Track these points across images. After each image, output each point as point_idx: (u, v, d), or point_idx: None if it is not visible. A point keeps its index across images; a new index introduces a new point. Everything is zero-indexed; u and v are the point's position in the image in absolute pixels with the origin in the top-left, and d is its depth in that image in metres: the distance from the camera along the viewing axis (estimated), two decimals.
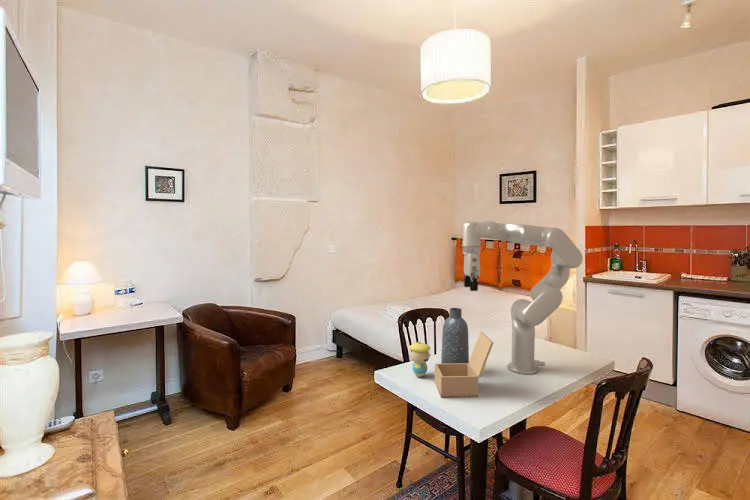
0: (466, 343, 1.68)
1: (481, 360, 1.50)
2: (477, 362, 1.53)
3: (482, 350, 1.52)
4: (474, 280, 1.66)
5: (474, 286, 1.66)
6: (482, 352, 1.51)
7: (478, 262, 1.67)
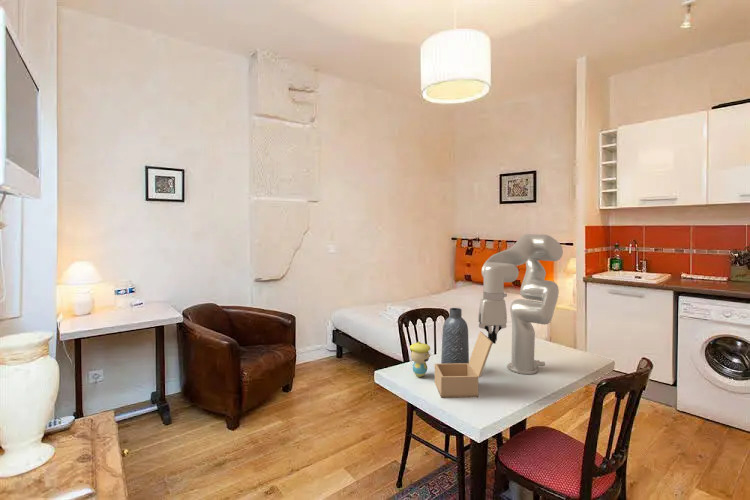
0: (466, 343, 1.68)
1: (481, 360, 1.50)
2: (477, 362, 1.53)
3: (482, 350, 1.52)
4: None
5: None
6: (482, 352, 1.51)
7: None
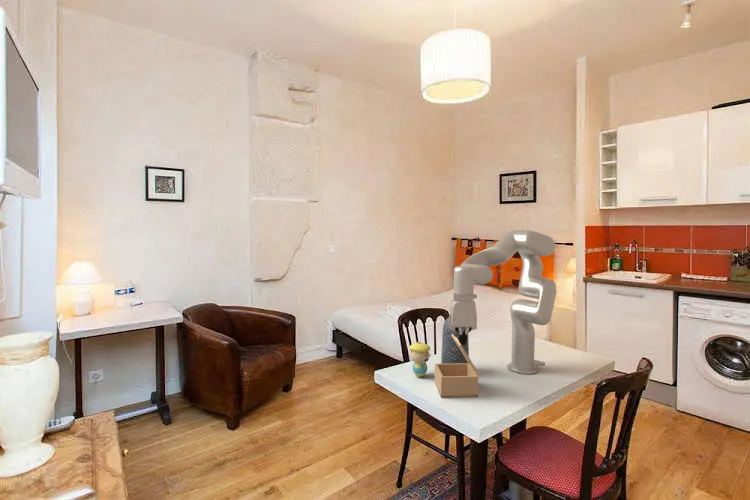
0: (466, 343, 1.68)
1: (469, 361, 1.50)
2: None
3: (463, 352, 1.52)
4: None
5: None
6: (464, 354, 1.51)
7: None
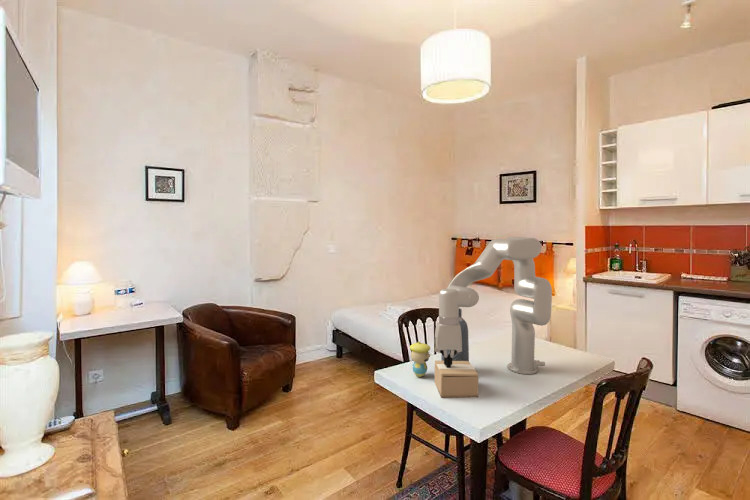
0: (466, 343, 1.68)
1: None
2: None
3: None
4: None
5: (451, 361, 1.54)
6: None
7: None
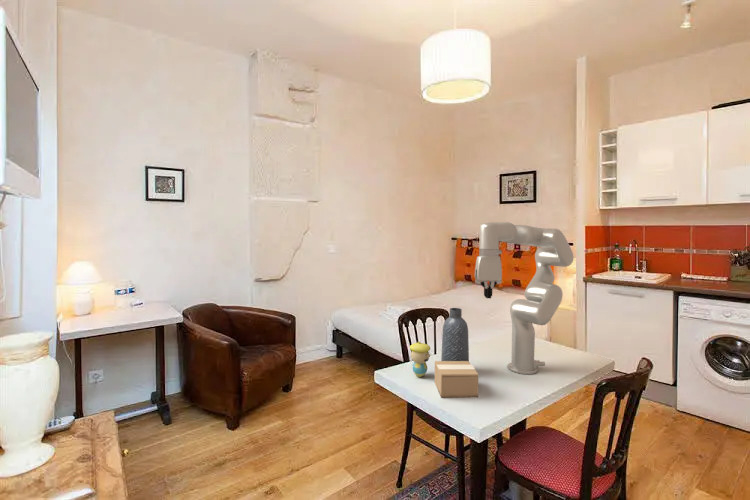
0: (466, 343, 1.68)
1: None
2: None
3: None
4: None
5: None
6: None
7: None
